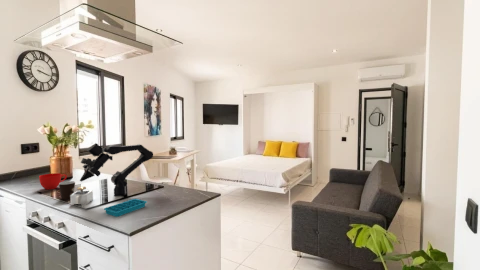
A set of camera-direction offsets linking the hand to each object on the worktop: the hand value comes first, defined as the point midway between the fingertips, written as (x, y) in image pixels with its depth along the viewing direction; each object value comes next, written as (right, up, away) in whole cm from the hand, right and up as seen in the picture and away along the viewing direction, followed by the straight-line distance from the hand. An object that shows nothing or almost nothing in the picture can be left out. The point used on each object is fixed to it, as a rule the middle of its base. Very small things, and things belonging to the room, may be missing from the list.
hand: (80, 181), depth 148 cm
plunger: (0, -12, +1) cm, 12 cm away
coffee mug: (-14, -13, +11) cm, 22 cm away
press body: (+1, -13, 0) cm, 13 cm away
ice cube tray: (+34, -15, -11) cm, 38 cm away
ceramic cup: (-42, -12, +34) cm, 56 cm away
